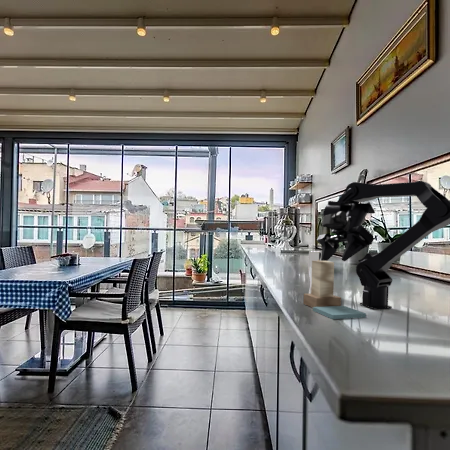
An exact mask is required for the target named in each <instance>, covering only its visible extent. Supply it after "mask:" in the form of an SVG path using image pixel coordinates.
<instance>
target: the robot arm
mask: <svg viewBox="0 0 450 450" xmlns="http://www.w3.org/2000/svg"><path fill="white" fill-rule="evenodd" d="M400 197H401V198H402V197H408V198H409V197H417V199H418V200H419V202H420V203H421V204H422V205H423V206H424V208H426V209H425V210H424V211H423V212H422V214H421V216H420V218H419V219H418V221H416V222H415V223H414V224H413V225H412V226H411V227H410V228H409V229H407V230H406V231H405V232H404V233H402V234H401V235H399V237H397V238H396V239H395V240H393V241H392V242H391V243H390V244H388V245H387V246H386V247H385V248H384V249H383V250H381V251H380V252H368V253H366V254H365V255H364V257H362V258H361V259H358V260H357V262H358V263H357V264H356V266H355V271H356V272H355V273H356V275H357V277H358V278H359V281H360V284H361V286H362V287H363V289H362V298H361V299H362V302H359V305H361V306H363V307H367V308H370V309H373V310H377V309H379V310H382V309H393V306H392V305H389V286H391V285H392V283H393V278H392V277H391V276H390V275H389V274H388V271H389V270H390V268H391V266H392V264H393V263H394V262H395V261H397V260H398V259H399V258H400V257H402V256H403V255H405V254H406V253H407V252H408V251H410V250H411V249H412V248H413V247H415V246H416V245H418V244H419V243H420V242H421V241H423V240H424V239H425V238H427V237H428V236H430V234H432V233H433V232H436V231H439V230H441V229H443V228H446V227H447V226H450V200H449V199H448V198H447V197H446V196H445V195H444V194H442V193H441V192H440V191H438V190H437V189H435V188H434V187H433V186H432V185H431V184H430V183H429V182H426V181H422V180H416V181H410V182H398V183H397V182H395V183H380V184H379V183H378V184H372V183H368V182H367V183H366V182H358V181H352V182H349V184H347V186H346V187H345V190H344V192H343V193H342V194H341V196H340V197H339V198H338V200H337V201H333V200H328V201H327V205H325V207H324V210H323V212H322V213H323V214H322V215H323V219H322V224H321V225H322V227H323V228H327V229H330V230H331V233H333V235H332V234H330V233H329V232H328V233H324V234H319V235H318V236H317V239H316V242H318V243H319V245H321V251H322V256H321V261H328V260H329V261H330V259H331V257H333V255H335V254H336V253H337V252H338V249H339V247H340V243H345V244H346V245H345V248H344V251H343V253H342V256H341V260H342V262H346V261H348V260H349V259H350V258H352V257H353V256H354V255H356V254H358V253H359V252H360V251H362V250H364V249H365V248H367V247H368V246H371V245H372V244H373V242H374V235H373V233H372V232H370V231H369V230H368V229H367V228H366V227H365V226H364V225H363V223H364V221H365V220H366V217H367V215H368V214H373V215H374V214H375V213H376V212H375V209H374V207H373V205H372V204H371V202H370V201H374V200H377V199H380V198H400Z"/></svg>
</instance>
